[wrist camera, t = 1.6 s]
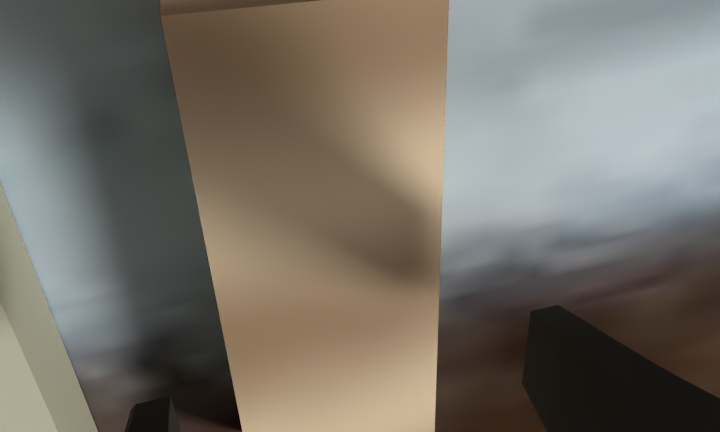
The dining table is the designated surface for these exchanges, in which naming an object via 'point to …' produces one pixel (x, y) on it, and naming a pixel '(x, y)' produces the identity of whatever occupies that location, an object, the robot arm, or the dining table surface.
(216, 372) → the dining table surface
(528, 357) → the robot arm
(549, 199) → the dining table surface
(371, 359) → the board
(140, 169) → the dining table surface
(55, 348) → the peg frame
